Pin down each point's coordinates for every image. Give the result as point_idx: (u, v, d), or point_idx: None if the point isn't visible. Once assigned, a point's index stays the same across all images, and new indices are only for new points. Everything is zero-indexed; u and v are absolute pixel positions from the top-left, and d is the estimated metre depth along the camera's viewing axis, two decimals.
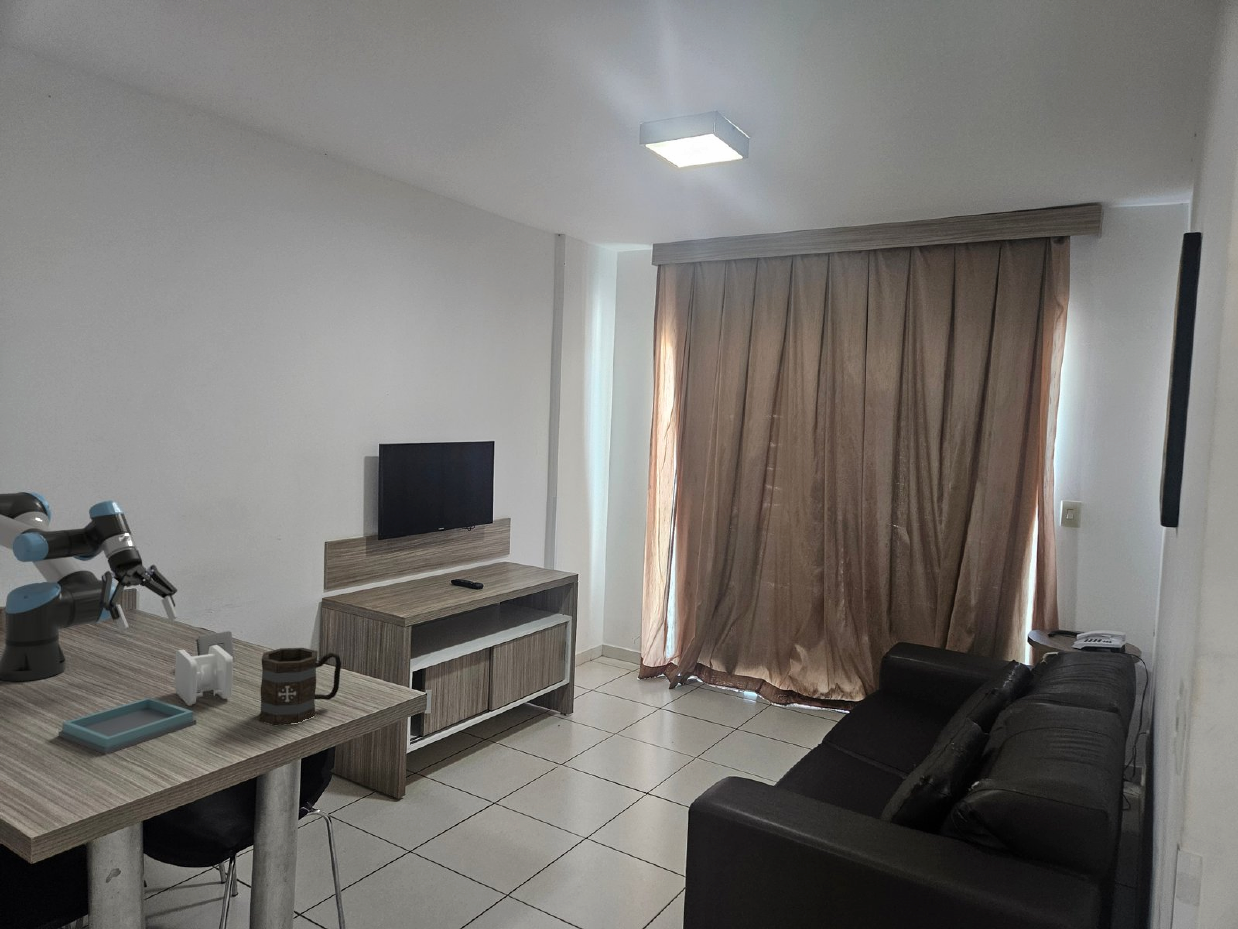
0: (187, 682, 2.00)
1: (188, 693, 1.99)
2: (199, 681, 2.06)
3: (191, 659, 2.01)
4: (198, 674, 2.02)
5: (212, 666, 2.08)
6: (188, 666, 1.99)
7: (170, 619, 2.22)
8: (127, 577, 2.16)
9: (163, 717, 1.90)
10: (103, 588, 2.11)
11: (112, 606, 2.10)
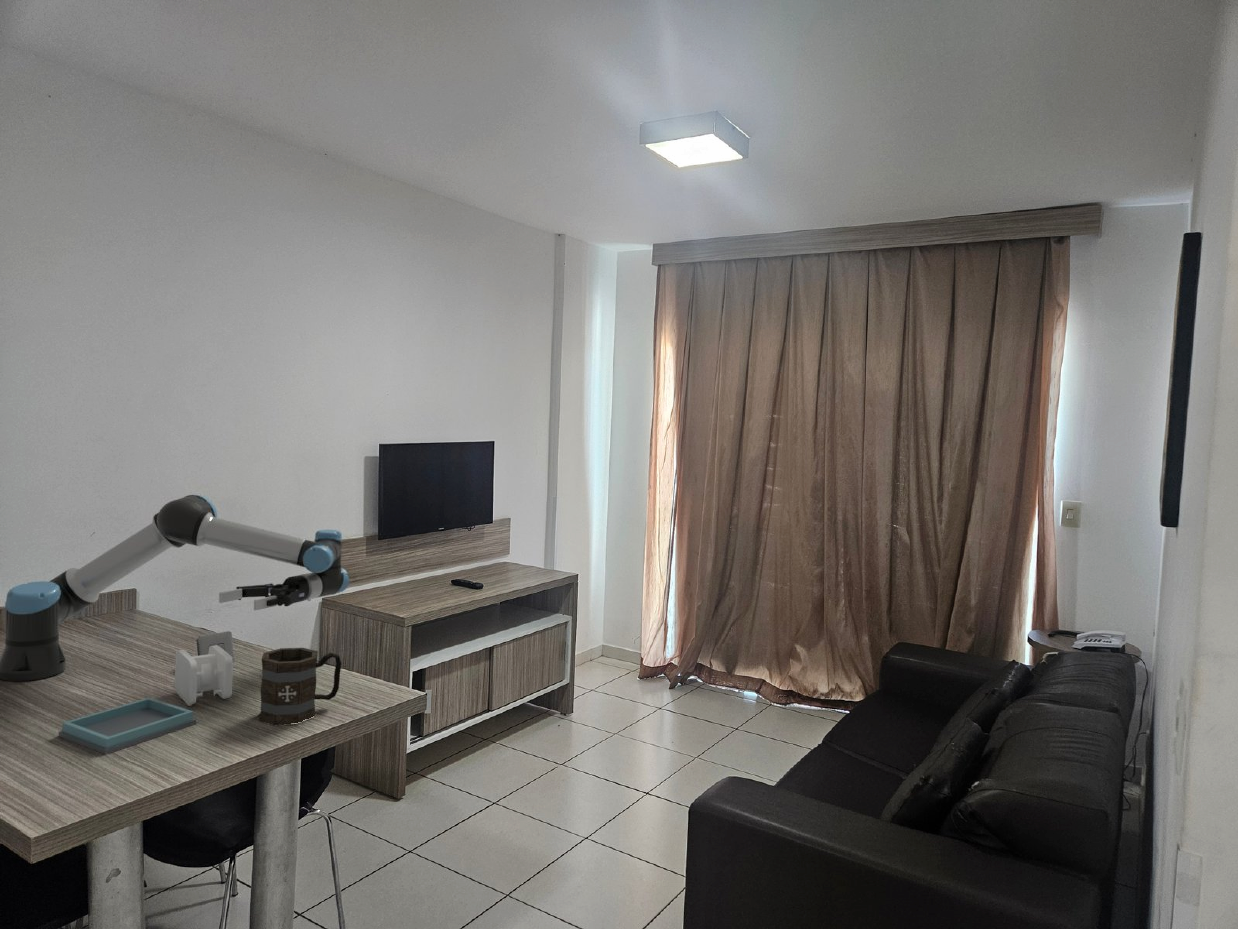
0: (187, 682, 2.00)
1: (188, 693, 1.99)
2: (199, 681, 2.06)
3: (191, 659, 2.01)
4: (198, 674, 2.02)
5: (212, 666, 2.08)
6: (188, 666, 1.99)
7: (222, 595, 2.18)
8: None
9: (163, 717, 1.90)
10: (296, 596, 2.22)
11: (278, 604, 2.17)
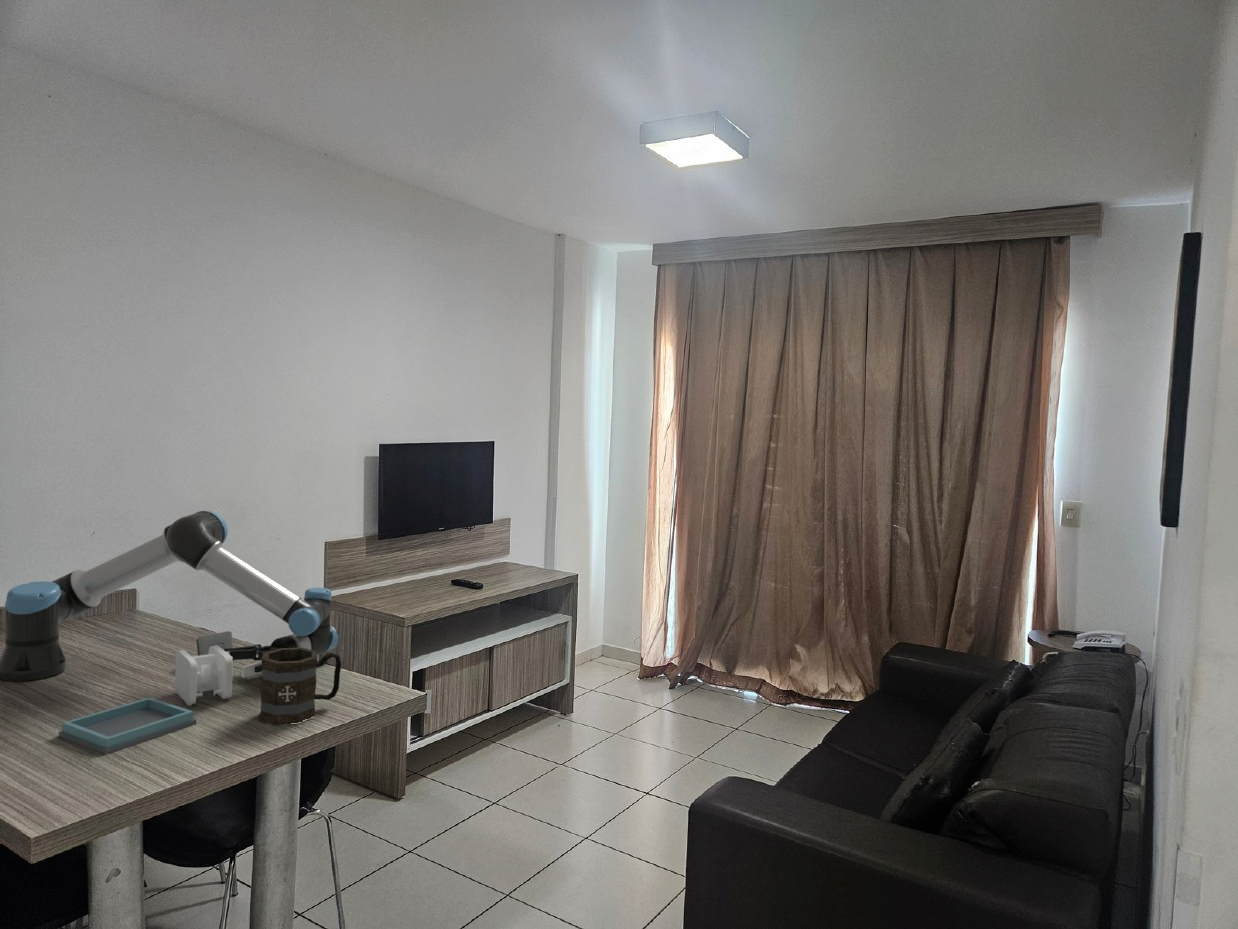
0: (187, 682, 2.00)
1: (188, 693, 1.99)
2: (199, 681, 2.06)
3: (191, 659, 2.01)
4: (198, 674, 2.02)
5: (212, 666, 2.08)
6: (188, 666, 1.99)
7: None
8: None
9: (163, 717, 1.90)
10: None
11: None
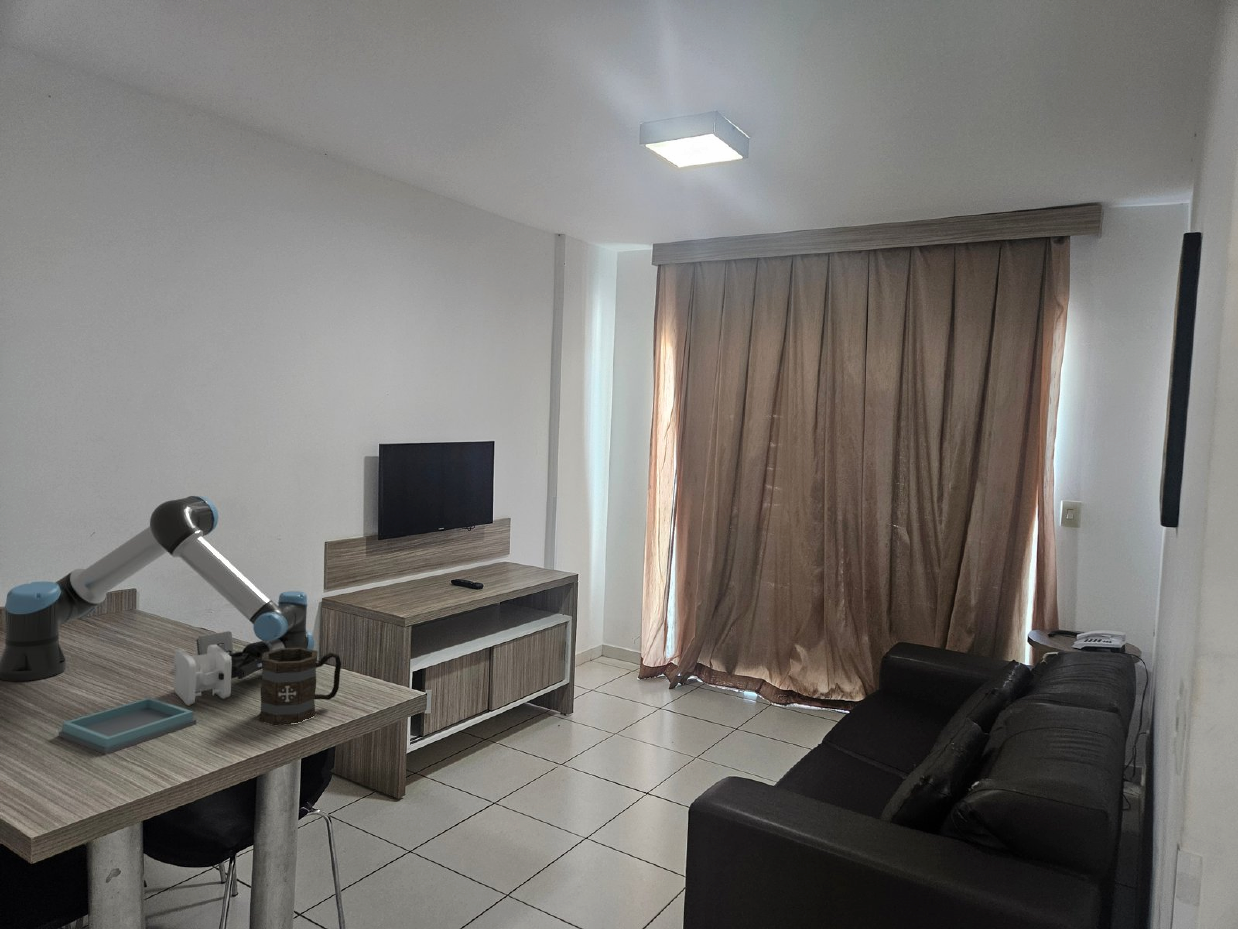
0: (186, 682, 2.00)
1: (187, 693, 1.99)
2: (197, 680, 2.06)
3: (190, 659, 2.01)
4: (197, 674, 2.02)
5: (211, 666, 2.08)
6: (187, 665, 1.99)
7: None
8: None
9: (163, 717, 1.90)
10: (252, 667, 2.12)
11: (231, 676, 2.07)
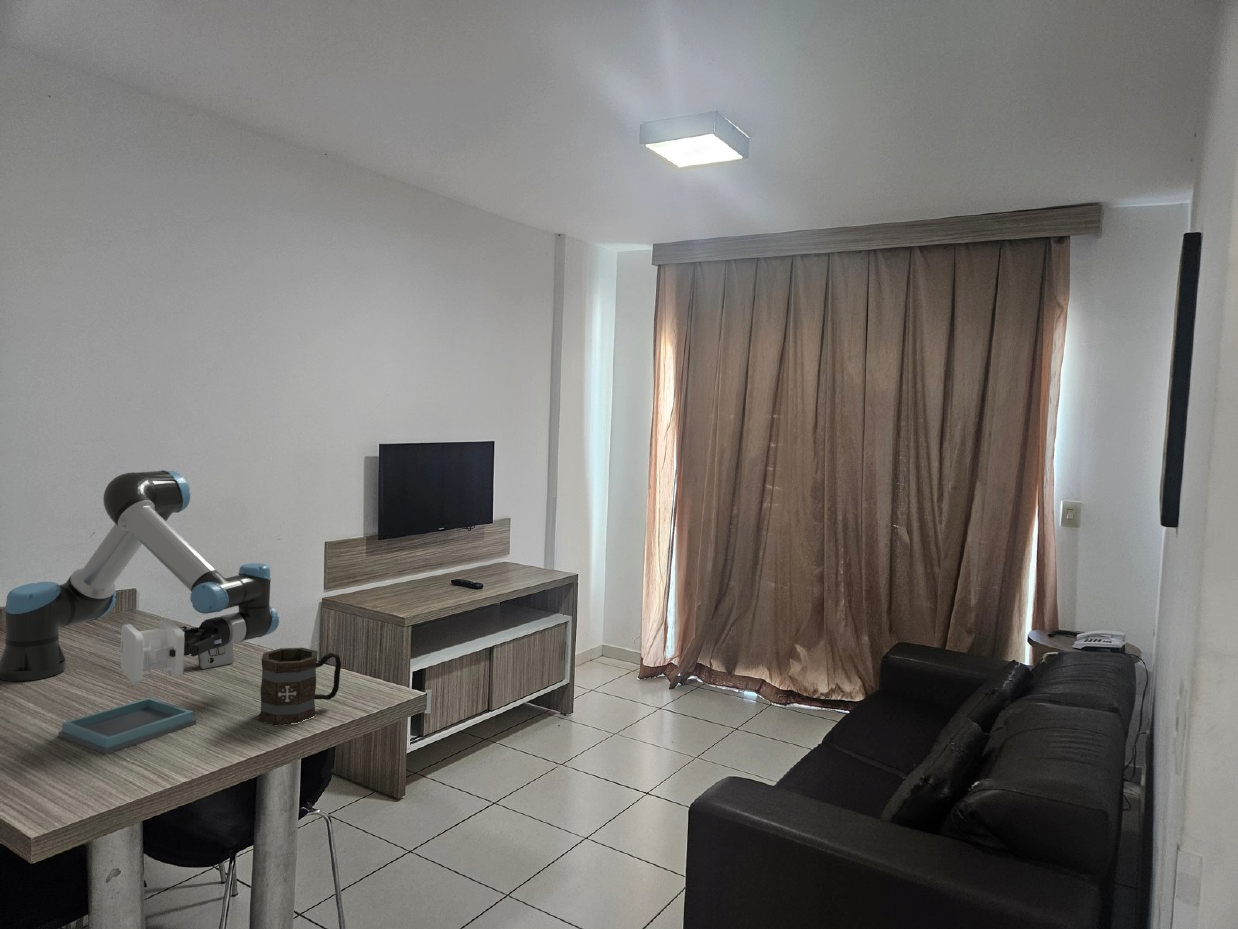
0: (132, 658, 1.81)
1: (134, 671, 1.80)
2: (146, 658, 1.87)
3: (137, 633, 1.82)
4: (145, 650, 1.83)
5: (162, 642, 1.89)
6: (133, 641, 1.81)
7: None
8: None
9: (163, 717, 1.90)
10: (208, 644, 1.93)
11: (184, 654, 1.88)
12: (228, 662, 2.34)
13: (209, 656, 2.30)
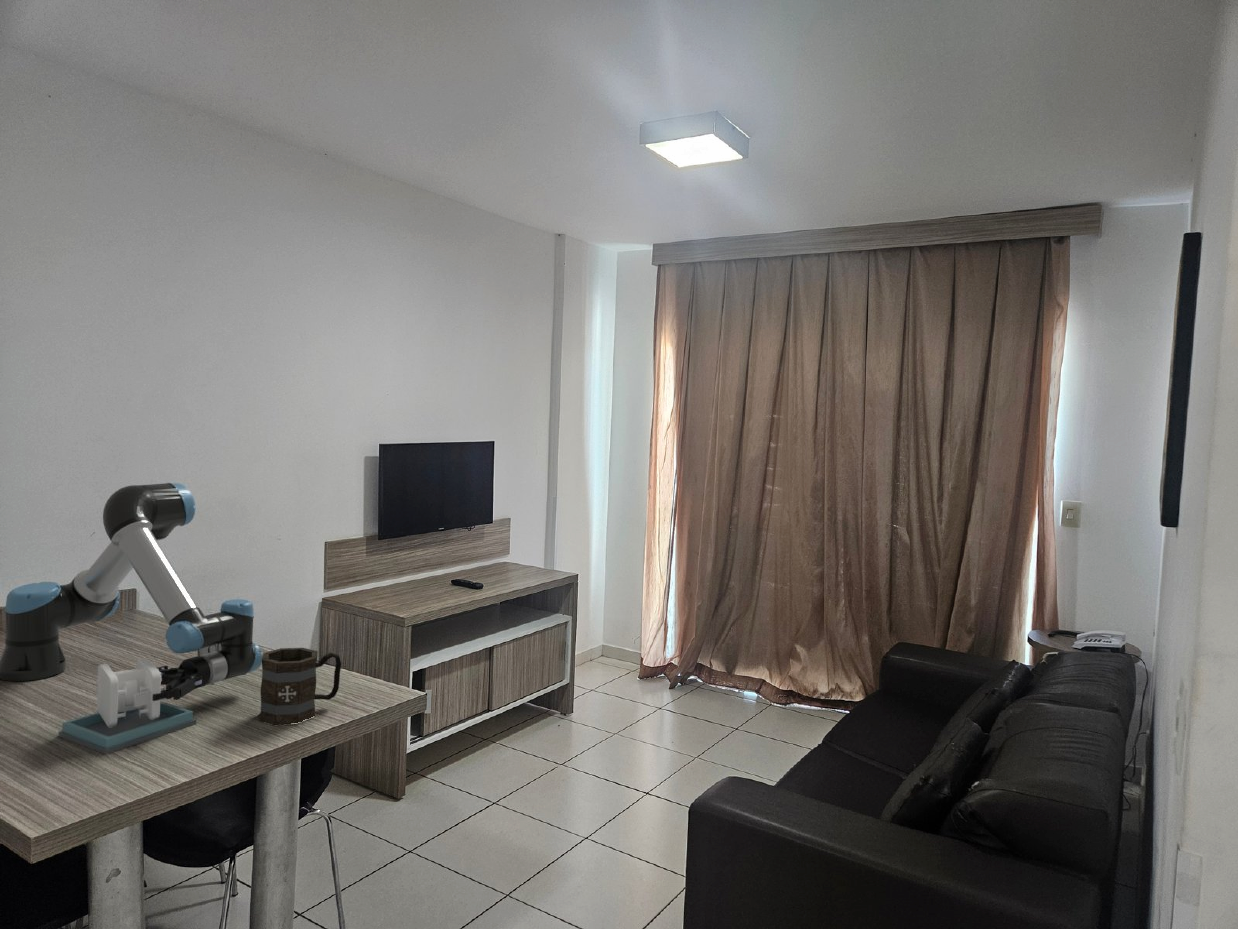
0: (107, 701, 1.77)
1: (108, 714, 1.76)
2: (123, 699, 1.83)
3: (112, 675, 1.78)
4: (120, 692, 1.79)
5: (139, 682, 1.85)
6: (108, 683, 1.76)
7: None
8: None
9: (163, 717, 1.90)
10: (190, 686, 1.89)
11: (167, 697, 1.84)
12: None
13: None
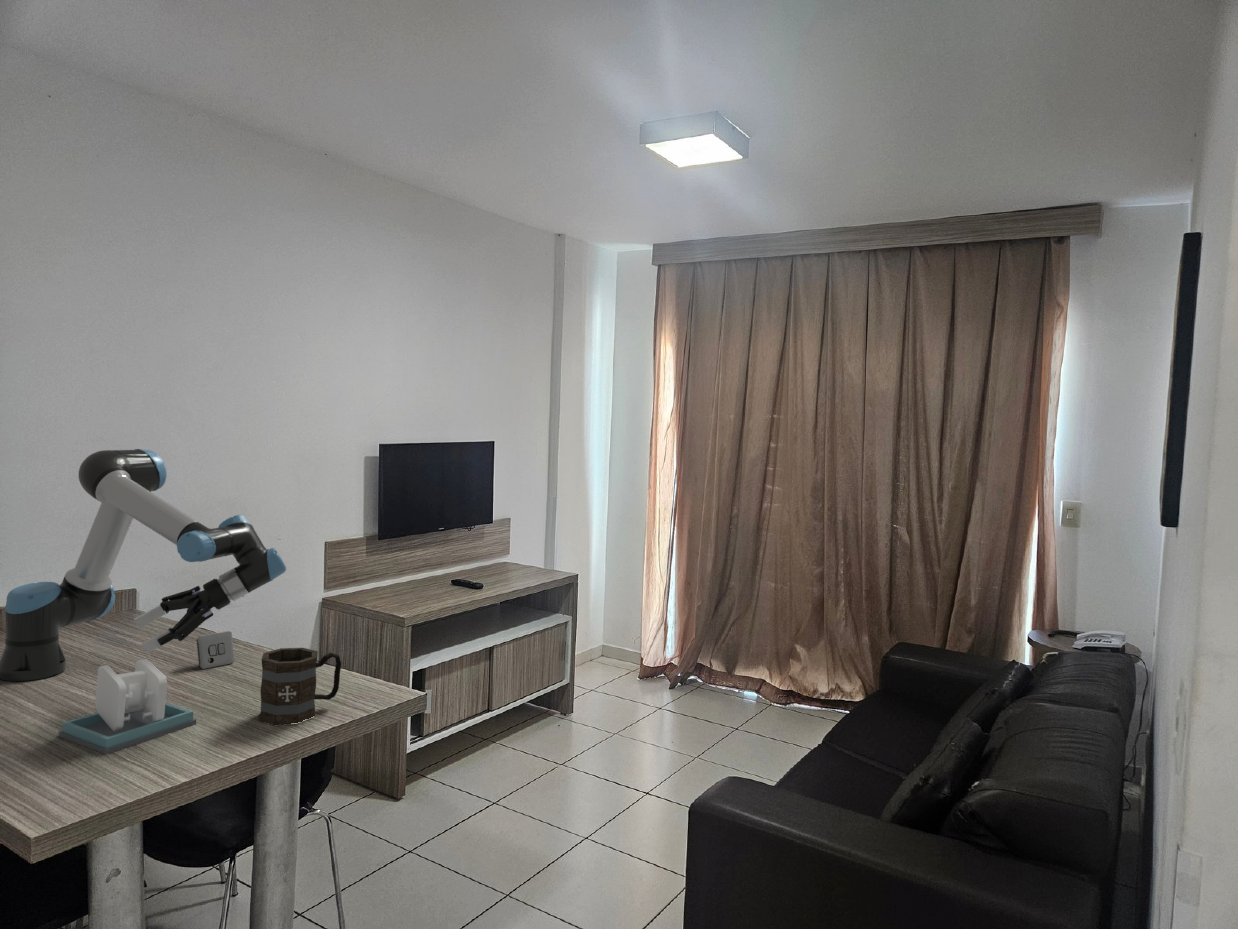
0: (113, 706, 1.77)
1: (114, 719, 1.77)
2: (125, 702, 1.83)
3: (119, 680, 1.78)
4: (126, 696, 1.79)
5: (141, 685, 1.85)
6: (115, 688, 1.76)
7: (137, 621, 2.05)
8: None
9: None
10: (195, 622, 1.99)
11: (174, 638, 1.97)
12: (228, 662, 2.34)
13: (209, 656, 2.30)
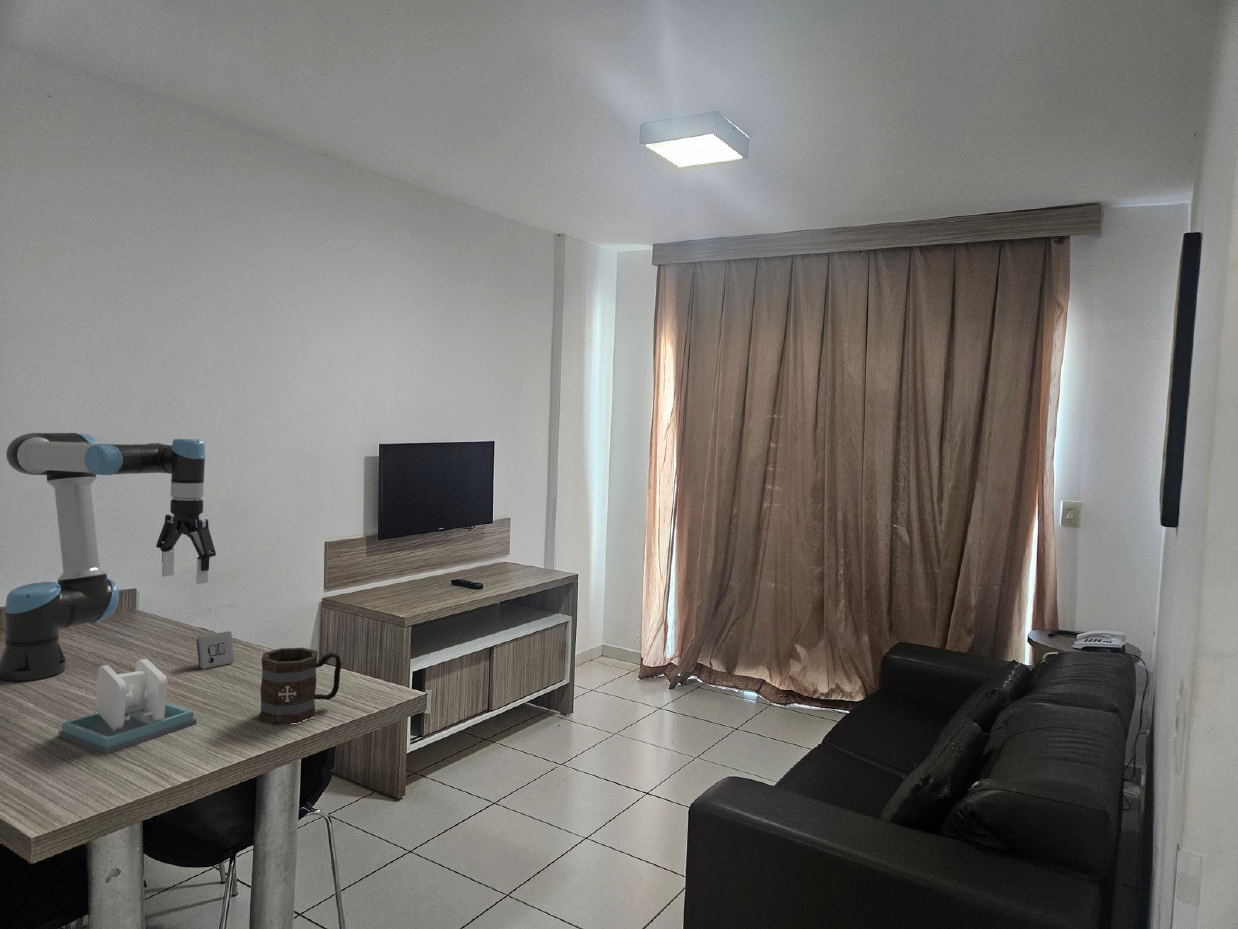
0: (114, 706, 1.77)
1: (115, 718, 1.77)
2: (125, 702, 1.83)
3: (119, 680, 1.78)
4: (126, 696, 1.79)
5: (141, 685, 1.85)
6: (116, 688, 1.76)
7: (166, 574, 2.14)
8: None
9: None
10: (206, 536, 2.07)
11: None
12: (228, 662, 2.34)
13: (209, 656, 2.30)
